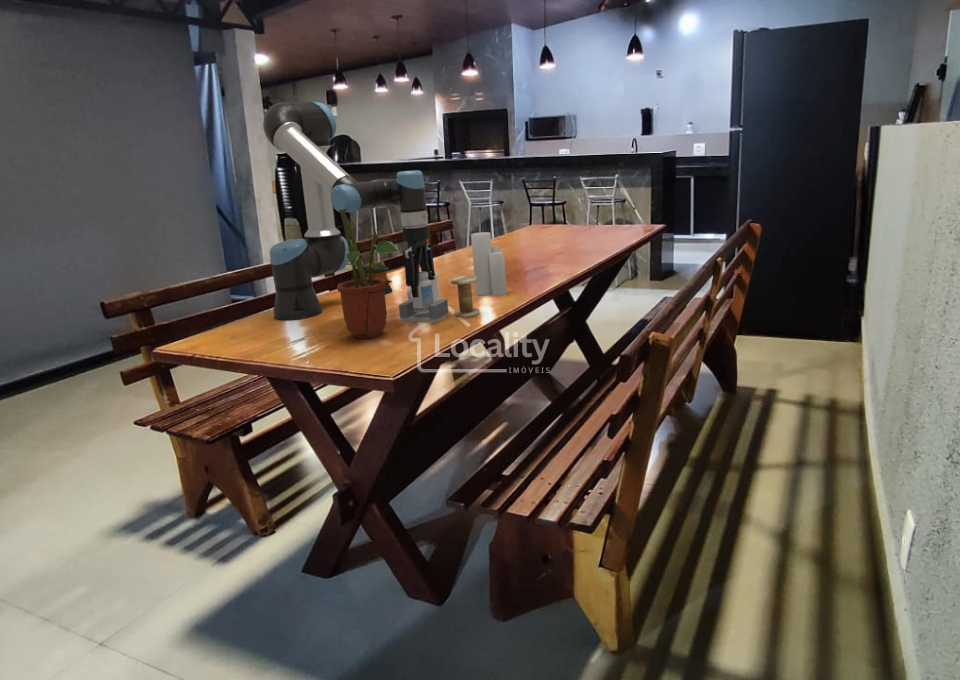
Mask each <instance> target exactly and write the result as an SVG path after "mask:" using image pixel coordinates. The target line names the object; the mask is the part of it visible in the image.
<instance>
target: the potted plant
mask: <svg viewBox="0 0 960 680" xmlns="http://www.w3.org/2000/svg"><path fill="white" fill-rule="evenodd" d="M346 210H347V209H339V214H340V216H341V220H342V224H341V225H338V226H337V227H336V229H338V230H339V228H342V227H343V230H344V233H345V236H343V238H345V239H346V241H347V242H346V243H347V244H348V249H349V252H348V254H347V260H348V261H349V262H348V263H350V264H351V269H352V275H353V278H351V280H347V281H343V282H340V283H338V284H337V285H336V289H337V291H338V293H339V294H340V299H341V308H342V312H343V313H342V314H343V320H344V322H345V325H346V328H347V330H348V332H350V334H351V335H352V336H354V337H355V338H358V339H361V340H362V339H363V340H368V339H374V338H376V337H378V336H380V335H381V334H382V333H383V332H384V330H385V327H386V326H387V318H388V317H387V316H388V311H387V303H386V295H385V292H384V287H385V286H386V281H385V280H384V279H379V278H373V276H372V272H373V267H377V268H382V269H386V271H389V269H387V268H386V267H387V266H386V265H385V264H384V265H383V264H379V263H380V262H375V264H373V262H374V256H375V255H374V254H375V253H378V254H389V253H394V252H396V253H397V252H398V253H399V252H401V250H400V249H398V248H397V247H396V245H395V244H394V243H393V242H392V241H388V240H383V239H382V240H379V242H377V240H378V237H379V236H378V233H377V232H376V231H379V230H382V229H383V230H384V227H380V228H379V227H378V228H377V229H376V231H374V233H373V235H372V234H371V235H370V236H371V237H372V238H371V243H370V251H369V258H368V259H369V260H368V263H369V278H367V273H366V272H365V271H364V268H363V267H367V264H366V263H365V264H364V265H362V262H363V261H362V259H363V255H362V254H360V253H361V252H360V251H359V250H358V247H357V246H358V245H357V240H356V237H355V234H354V230H353V227H352V224H351V222H350V219H349V218H347V217H346V216H347V215H346V213H347V212H346ZM343 238H342V239H343ZM344 251H345V250H344ZM361 261H362V262H361ZM358 274H359V277H358Z"/></svg>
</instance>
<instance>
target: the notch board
mask: <svg viewBox="0 0 960 680" xmlns="http://www.w3.org/2000/svg"><path fill="white" fill-rule="evenodd" d="M448 303H449V302H448V299H447V298H445V299H442V298H440V300H438V301H436V302H435V303H433V304H431V305H429V306H428V309H429V311H428V312H415V311H414V309H413V300H412V299H410V300H406V301H404V302H401V303H400V304H398V307H399V309H398V310H399V318H400V322H407V323H408V322H410V323H430V322H437V323H439V322H441V321H442V320H444V319H446V318H447V317H449V316H448V315H450V314H449V304H448ZM446 316H447V317H446ZM445 317H446V318H445ZM443 318H444V319H443ZM441 319H442V320H441ZM440 320H441V321H440ZM438 321H439V322H438Z"/></svg>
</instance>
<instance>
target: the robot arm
mask: <svg viewBox="0 0 960 680" xmlns="http://www.w3.org/2000/svg"><path fill="white" fill-rule="evenodd" d="M262 123H263V124H262V125H263V127H262V128H263V131H264V134H265V137H266V139H267V140H268V141H269V143H271V145H272V146H273V147H274V148H275V149H276V150H278V152H282V153H286V154H287V155H288V157H290V158H291V159H292V160H293V161H294V162H296V163H297V164H298V165H299V167H300V174H301V181H302V182H301V183H302V189H303V197H304V198H303V199H304V205H305V212H306V221H307V227H308V228H307V230H306V232H305V233H304V238H293V239H290V240H284V241H281V242H278V243H276V244H274V245H272V246H271V247H270V249H269V263H270V265H271V271H272V277H273V283H274V287H275V298H274V306H273V309H272V310H273V311H272V312H273V316H274V319H276V320H281V321H291V320H292V321H293V320H300V319H307V318H311V317H313V316H316V315H318V314H321V313H322V312H323V307H322V303H321V302H320V300H319V298H318V296H317V293H316V291H315V290H314V286H313V278H317V277H321V276H325V275H329V274H335V273H337V272H340V271H342V270H344V269H345V268H346V266H347V265H348V264H349V263H350V262H349V261H348V260H347V254H348V252H349V249H348V244H347V239H346V237H345V238H344V236H342V234H341V231H340V230H339V228H338V229H337V227H336V224H335V223H336V222H335V215H334V209H335V211H337V212H339V209H347V210H346V212H345V213H355V212H358V211H365V210H368V209H375V208H376V209H377V208H382V207H387V206H389V207H390V206H399V209H400V210H399V211H400V220H401V227H403V228H402V236H403V237H402V239H403V241H404V242H407V249H406V250H403V251H402V256H403V260H404V261H403V262H404V273H405V275H404V276H405V285H406V286H407V287H409V286H411V290H412V293H411V295H412V299H413V308H423V304H422V295H421V286H418V285H419V272H428V280H430V281H431V280H434V279H435V277H433V276H435V273H436V271H435V266H434V265H435V264H434V258H433V244H432V243H428V242H427V240H429V239H430V228H429V226H428V224H429V221H428V220H429V219H428V217H429V214H428V211H427V209H428V207H427V201H426V188H425V187H426V185H425V180H424V179H425V178H424V174H423V172H422V171H421V170H416V169H415V170H405V171H398V172H397V173H396V176H395V177H396V178H389V179H388V178H379V179H373V180H370V181H361V182H358V181H356V180H355V178H353V177H352V176H351V175H350V174H349V173H348V172H346V171H345V170H344V169H343V168H342V167H341V166H340V164H339V165H338V163H336V162H335V160H333V159H332V158H331V157H330V156H329V155H328V154H327V152H328V151H329V149H330V148H331V140H332V139H334V137H335V136H336V133H337V122H336V119H335V115H334V113H333V112H332V110H331V109H329V107H328V105H326V104H324V103H322V102H318V101H317V102H316V101H297V102H295V101H293V102H291V101H290V102H285V101H284V102H283V101H282V102H277V103H275V104H273V105H271V106H270V107H269V108H268V109H267V111H266V112H265V115H264V117H263V121H262ZM339 213H340V212H339ZM342 238H343V239H342ZM344 250H345V251H344ZM420 270H421V271H420ZM431 284H432V281H431ZM432 293H433V291H432ZM433 302H434V301H433Z"/></svg>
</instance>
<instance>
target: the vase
mask: <svg viewBox="0 0 960 680" xmlns="http://www.w3.org/2000/svg"><path fill="white" fill-rule="evenodd" d="M491 233H492V232H489V231H485V232H484V231H482V232H480V231H479V232H474V233H471V234H470V239H471V249H472V262H473V263H472V265H473V276H476V277H477V281H476V282H474V287H475V288H474V289H475V295H476V296H489V295H491V296H492V297H493V296H494V297H502V296H506V295H508V293H507V280H506V264H505V252H504V251H501V247H500V245H492V234H491Z"/></svg>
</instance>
